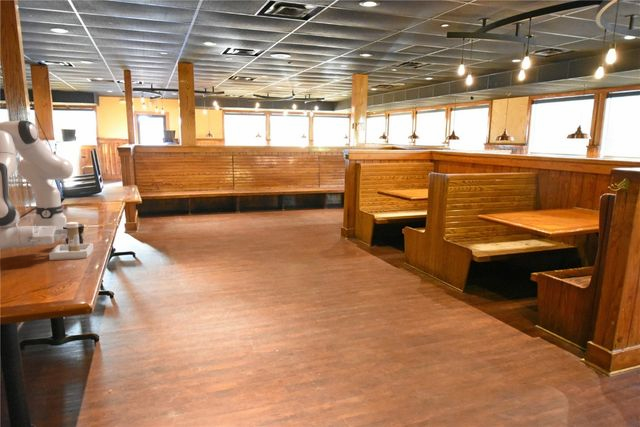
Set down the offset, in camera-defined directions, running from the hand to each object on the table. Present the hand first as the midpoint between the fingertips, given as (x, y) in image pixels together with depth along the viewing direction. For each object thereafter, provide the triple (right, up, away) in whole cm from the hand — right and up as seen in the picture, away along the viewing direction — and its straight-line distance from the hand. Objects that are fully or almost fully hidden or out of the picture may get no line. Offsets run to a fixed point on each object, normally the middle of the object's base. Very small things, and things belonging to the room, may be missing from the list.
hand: (67, 233), depth 186 cm
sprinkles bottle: (+2, -9, +2) cm, 9 cm away
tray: (+1, -9, +2) cm, 10 cm away
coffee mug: (-5, -7, +17) cm, 19 cm away
